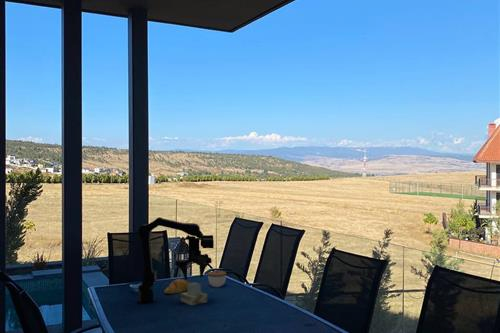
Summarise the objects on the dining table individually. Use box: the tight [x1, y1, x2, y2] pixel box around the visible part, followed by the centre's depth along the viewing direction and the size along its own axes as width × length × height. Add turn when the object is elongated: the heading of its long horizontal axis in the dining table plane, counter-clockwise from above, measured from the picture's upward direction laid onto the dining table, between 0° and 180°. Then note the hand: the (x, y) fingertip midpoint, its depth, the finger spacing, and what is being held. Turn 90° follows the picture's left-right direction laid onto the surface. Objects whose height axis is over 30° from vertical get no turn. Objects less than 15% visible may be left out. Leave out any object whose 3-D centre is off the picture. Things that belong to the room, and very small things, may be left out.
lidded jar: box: [207, 269, 227, 288], centre depth 274 cm, size 11×11×9 cm
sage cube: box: [186, 282, 202, 296], centre depth 241 cm, size 5×5×5 cm
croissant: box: [163, 278, 192, 295], centre depth 262 cm, size 21×10×8 cm, turn 146°
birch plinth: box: [180, 291, 208, 306], centre depth 241 cm, size 10×10×4 cm
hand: (193, 278), depth 241 cm, fingers open, 9 cm apart
